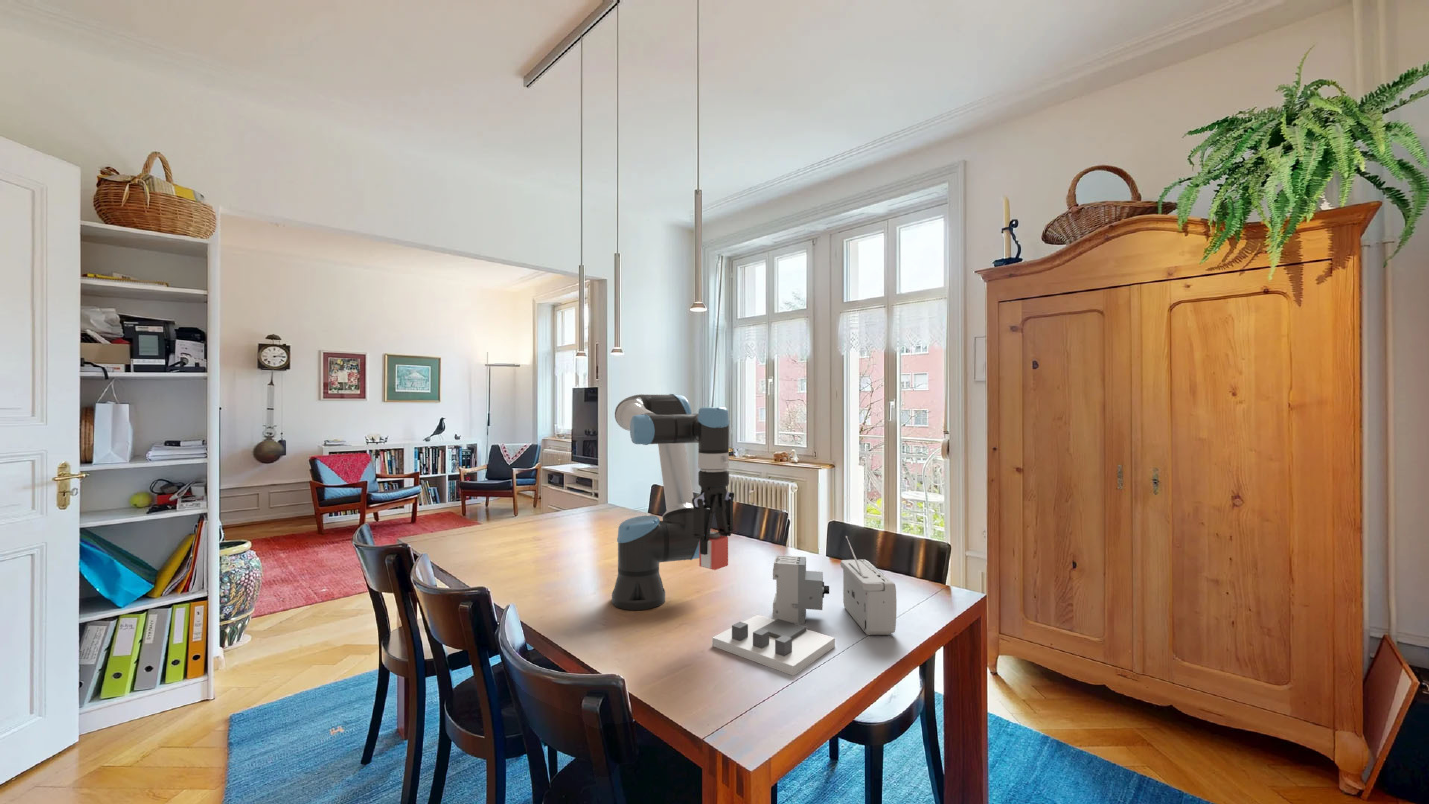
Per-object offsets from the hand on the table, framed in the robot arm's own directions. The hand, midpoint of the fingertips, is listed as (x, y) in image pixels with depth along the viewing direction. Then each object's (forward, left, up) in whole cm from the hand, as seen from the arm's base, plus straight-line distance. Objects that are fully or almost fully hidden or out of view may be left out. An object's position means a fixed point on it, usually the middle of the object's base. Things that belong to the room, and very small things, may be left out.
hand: (713, 564), depth 139 cm
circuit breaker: (+12, +22, -17) cm, 30 cm away
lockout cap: (0, 0, 0) cm, 0 cm away
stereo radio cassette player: (+26, +31, -17) cm, 44 cm away
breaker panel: (+16, +3, -17) cm, 23 cm away
